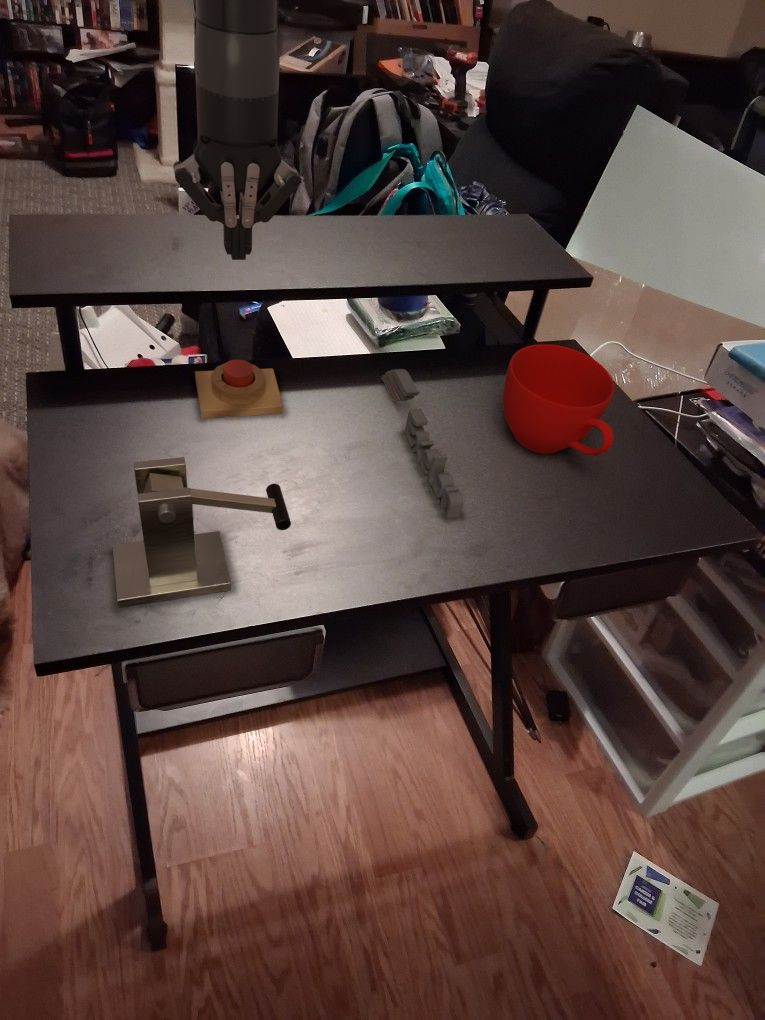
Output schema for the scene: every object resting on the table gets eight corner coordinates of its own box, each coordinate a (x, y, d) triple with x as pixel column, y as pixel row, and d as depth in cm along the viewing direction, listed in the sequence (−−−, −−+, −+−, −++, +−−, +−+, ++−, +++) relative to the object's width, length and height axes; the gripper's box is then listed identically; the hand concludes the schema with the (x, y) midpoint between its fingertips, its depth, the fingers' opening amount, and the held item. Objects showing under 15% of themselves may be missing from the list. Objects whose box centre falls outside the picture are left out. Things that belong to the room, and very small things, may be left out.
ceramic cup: (546, 503, 87) (574, 439, 80) (470, 416, 97) (489, 353, 90) (626, 477, 93) (659, 415, 85) (547, 398, 102) (570, 336, 95)
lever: (275, 497, 73) (284, 480, 72) (286, 534, 70) (295, 517, 69) (141, 481, 66) (148, 461, 65) (146, 521, 63) (154, 501, 62)
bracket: (219, 538, 76) (217, 445, 67) (231, 590, 72) (229, 499, 63) (113, 552, 73) (95, 457, 64) (118, 608, 69) (99, 515, 60)
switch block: (201, 418, 89) (200, 398, 87) (195, 378, 94) (194, 359, 92) (282, 413, 92) (283, 394, 90) (272, 375, 97) (273, 356, 95)
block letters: (379, 385, 99) (385, 350, 95) (390, 385, 99) (396, 349, 95) (446, 519, 83) (457, 483, 79) (459, 517, 83) (470, 481, 79)
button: (225, 389, 90) (225, 377, 88) (222, 371, 92) (221, 359, 91) (255, 387, 90) (255, 376, 89) (251, 370, 93) (251, 358, 92)
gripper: (165, 89, 63) (177, 274, 75) (316, 98, 67) (304, 273, 79) (160, 61, 68) (172, 239, 80) (301, 71, 71) (292, 240, 84)
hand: (238, 256), depth 80 cm, fingers closed
